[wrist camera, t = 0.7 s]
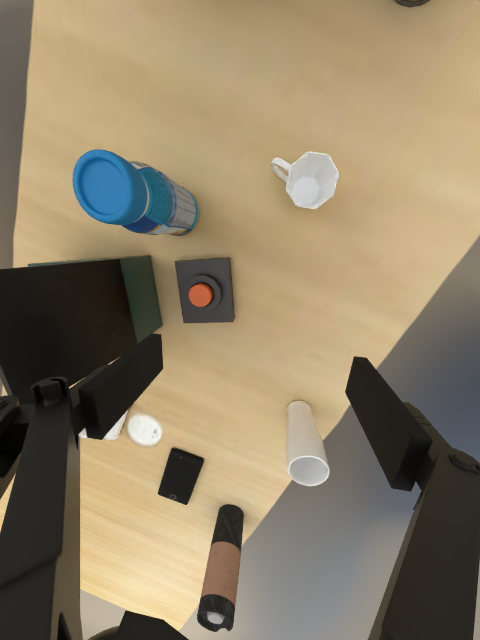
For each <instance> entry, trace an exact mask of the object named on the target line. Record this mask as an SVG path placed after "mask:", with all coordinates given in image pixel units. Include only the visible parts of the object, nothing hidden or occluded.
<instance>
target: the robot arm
mask: <svg viewBox="0 0 480 640" xmlns="http://www.w3.org/2000/svg"><path fill="white" fill-rule="evenodd" d="M162 369H163V357H162V338H161V335H160V334H150V335H148V336H147V337H146V338H144V339H143V340H142V341H141V342H139V343H138V344H137V345H135V346H134V347H133V348H131V349H130V350H129V351H127V352H126V353H125V354H123V355H122V356H121V357H119V358H118V359H117V360H115V361H114V362H113V363H112V364H110V365H108V364H107V365H105V366H102V367H100V368H98V369H96V370H95V371H94V372H92V373H91V374H90V375H88V376H87V377H85V379H83V380H81V381H80V382H78V383H77V384H76V385H74V386H73V387H71V388H70V389H69V385H68V381H67V378H64V377H50V378H47V379H43V380H41V381H39V382H37V383H35V384H34V385H32V386H31V388H30V393H31V396H32V400H33V404H21V405H20V404H19V401H18V398H17V397H16V396H12V395H11V396H2V397H0V499H1V497H2V496H3V494H4V492H5V491H6V489H7V487H8V485H9V484H10V482H11V480H12V479H13V477H14V475H15V473H16V475H15V479H14V483H13V486H12V490H11V494H10V498H9V502H8V505H7V509H6V513H5V517H4V521H3V525H2V528H1V532H0V640H83V638H82V627H81V619H80V437H79V433H80V432H81V431H82V430H83V429H86V434H87V438H93V439H99V440H102V439H103V438H104V437H105V436H106V435H107V433H108V432H109V431H110V430H111V429H112V428H113V426H114V425H115V424H116V423H117V422H118V421H119V419H120V418H121V417H122V416H123V415H124V414H125V412H126V411H127V410H128V409H129V408H130V407H131V406H132V404H133V403H134V402H135V401H136V400H137V399H138V397H139V396H140V395H141V394H142V393H143V392H144V390H145V389H146V388H147V387H148V386H149V385H150V383H151V382H152V381H153V380H154V379H155V378H156V376H157V375H158V374H159V373H160V372H161V371H162ZM345 393H346V395H347V397H348V399H349V401H350V403H351V405H352V407H353V409H354V411H355V413H356V415H357V417H358V420H359V422H360V424H361V426H362V428H363V430H364V432H365V434H366V436H367V438H368V440H369V442H370V444H371V447H372V448H373V451H374V453H375V455H376V457H377V459H378V461H379V463H380V465H381V467H382V469H383V471H384V473H385V475H386V478H387V480H388V482H389V484H390V486H391V488H393V489H399V490H405V491H412V488H413V486H414V484H415V481H416V482H417V484H418V485H419V487H420V489H421V490H422V491H421V493H420V496H419V498H418V500H417V502H416V504H415V507H414V512H413V515H412V518H411V520H410V524H409V526H408V529H407V532H406V535H405V537H404V540H403V543H402V546H401V549H400V551H399V554H398V557H397V560H396V563H395V565H394V568H393V571H392V574H391V577H390V579H389V582H388V585H387V588H386V591H385V594H384V596H383V599H382V602H381V605H380V607H379V611H378V613H377V616H376V619H375V622H374V624H373V627H372V630H371V633H370V636H369V638H368V640H473V634H474V622H475V609H476V597H477V584H478V573H479V561H480V463H479V462H477V461H476V460H475V459H474V458H473V457H471V456H469V455H467V454H466V453H464V452H462V451H459V450H457V449H454V448H452V447H451V446H450V445H449V444H448V443H447V442H446V440H445V439H444V438H443V437H442V436H441V435H440V434H439V432H438V431H437V430H436V429H435V428H434V427H433V426H432V424H431V423H430V422H429V421H428V420H426V418H425V416H424V415H423V414H422V413H421V412H420V411H419V410H418V409H417V408H415V407H414V406H413V405H411V404H410V403H406V402H402V401H401V400H400V399H399V398H398V396H397V395H396V394H395V393H394V391H393V390H392V389H391V388H390V386H389V385H388V384H387V383H386V381H385V380H384V379H383V378H382V377H381V375H380V374H379V373H378V371H377V370H376V369H375V368H374V367H373V365H372V364H371V363H370V362H369V360H368V359H367V358H364V357H355V356H354V359H353V363H352V367H351V371H350V375H349V379H348V383H347V387H346V391H345ZM88 640H189V639H187V638H186V637H185V636H183V635H182V634H181V633H179V632H178V631H177V630H176V629H174V628H173V627H172V626H170V625H169V624H168V623H166V622H165V621H164V620H162V619H158V618H154V617H150V616H146V615H142V614H138V613H134V612H130V611H125V613H124V616H123V619H122V621H121V623H120V626H116V627H113V628H110V629H107V630H104V631H102V632H100V633H98V634H96V635H94V636H92V637H91V638H89V639H88Z"/></svg>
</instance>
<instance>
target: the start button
mask: <svg viewBox="0 0 480 640" xmlns="http://www.w3.org/2000/svg"><path fill="white" fill-rule="evenodd" d="M212 298H213V292H212V289H211V288H210V287H209V286H208V285H206V284H203V283H200V284H197V285H195V286H193V287H192V288H191V289H190V291H189V299H190V301H191V302H192V304H194V305H195V306H197V307H204V306H206V305H208V304H209V303H210V302H211V300H212Z"/></svg>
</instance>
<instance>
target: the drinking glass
mask: <svg viewBox="0 0 480 640" xmlns="http://www.w3.org/2000/svg"><path fill="white" fill-rule="evenodd" d="M286 458H287V467H288V473H289V475H290V477H291V478H292V479H293V480H294V481H295V482H297V483H299V484H301V485H305V486H315V485H319V484H321V483H323V482H324V481H325V480H327V478H328V476H329V473H330V470H329V465H328V460H327V455H326V452H325V449H324V445H323V442H322V439H321V437H320V434H319V431H318V428H317V426H316V423H315V420H314V417H313V414H312V410H311V407H310V406H309V405H308V404H307V403H306V402H304V401H294V402H292V403H290V404H289V406H288V407H287V436H286Z"/></svg>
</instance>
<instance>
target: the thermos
mask: <svg viewBox="0 0 480 640" xmlns="http://www.w3.org/2000/svg"><path fill="white" fill-rule="evenodd" d="M395 1H396V2H397V3H399V4H400V5H404V6H408V7H413V6H419V5H422V4H424V3H426V2H428V1H430V0H395Z"/></svg>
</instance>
